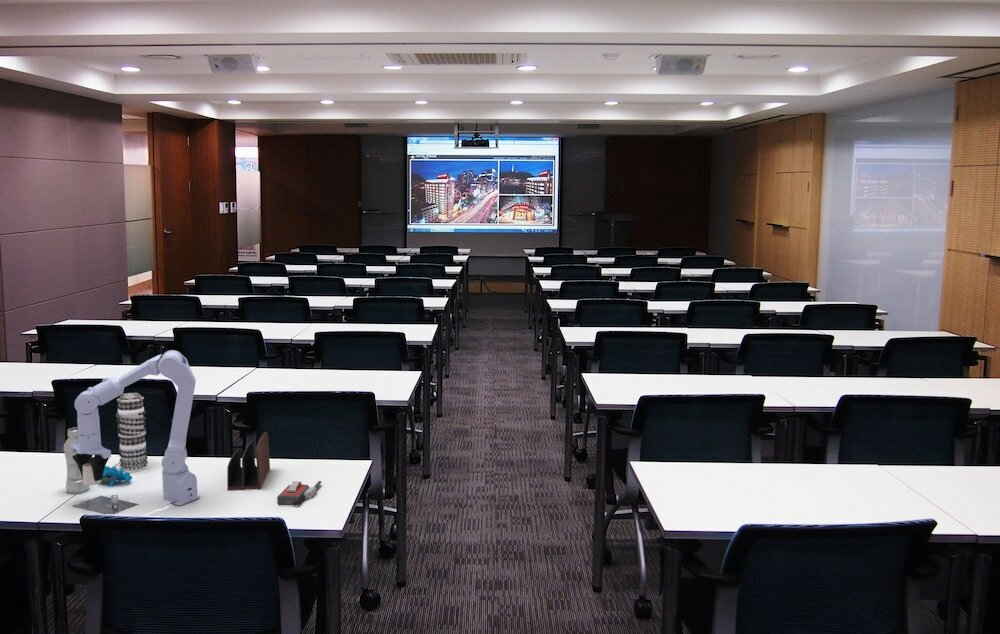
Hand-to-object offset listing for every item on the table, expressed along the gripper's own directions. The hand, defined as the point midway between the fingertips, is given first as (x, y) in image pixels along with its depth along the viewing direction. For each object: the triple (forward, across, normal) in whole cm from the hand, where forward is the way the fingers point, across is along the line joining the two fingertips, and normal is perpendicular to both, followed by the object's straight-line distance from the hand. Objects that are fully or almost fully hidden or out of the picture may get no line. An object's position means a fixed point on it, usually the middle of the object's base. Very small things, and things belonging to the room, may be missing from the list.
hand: (92, 478), depth 254 cm
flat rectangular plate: (+8, +5, 0) cm, 9 cm away
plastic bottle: (+8, -13, +5) cm, 16 cm away
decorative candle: (+8, -18, +30) cm, 36 cm away
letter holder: (+9, +23, +39) cm, 46 cm away
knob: (+1, 0, 0) cm, 1 cm away
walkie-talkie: (+9, +47, +34) cm, 59 cm away
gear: (+8, -9, +14) cm, 19 cm away
